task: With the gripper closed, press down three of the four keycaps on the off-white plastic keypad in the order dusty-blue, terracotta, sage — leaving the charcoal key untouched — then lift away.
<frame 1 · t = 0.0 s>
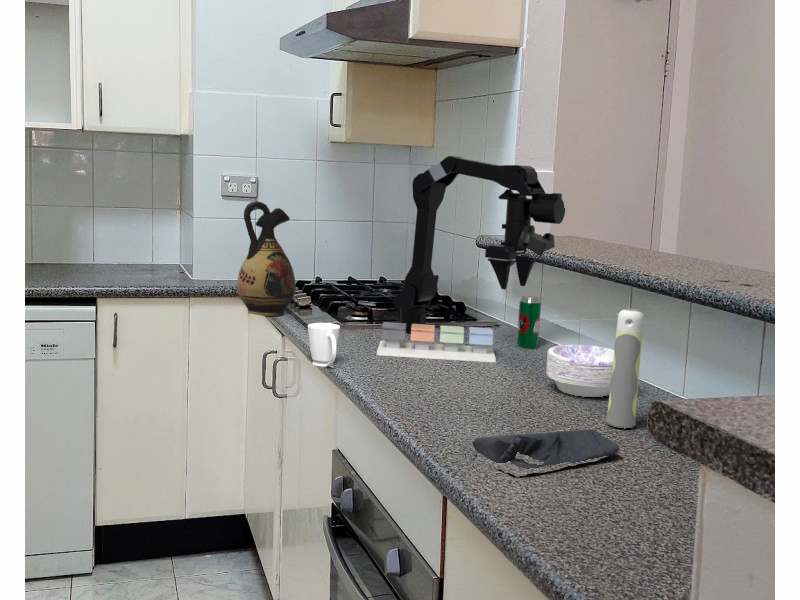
hand: (513, 287, 204), 15 cm above the worktop, fingers open, 9 cm apart
spray bottle: (620, 427, 148), on the worktop
cup: (324, 366, 180), on the worktop
key terracotta: (422, 332, 197), point 4 cm above the worktop, slide at 0.0 cm
keypad: (436, 353, 197), on the worktop
key charcoal: (394, 330, 197), point 4 cm above the worktop, slide at 0.0 cm
key sage: (451, 334, 197), point 5 cm above the worktop, slide at 0.0 cm
ceramic jug: (262, 314, 235), on the worktop
key blue: (480, 336, 196), point 5 cm above the worktop, slide at 0.0 cm
crumpled dark cloth: (542, 459, 131), on the worktop
soda can: (526, 347, 210), on the worktop
paper bowls: (584, 393, 170), on the worktop
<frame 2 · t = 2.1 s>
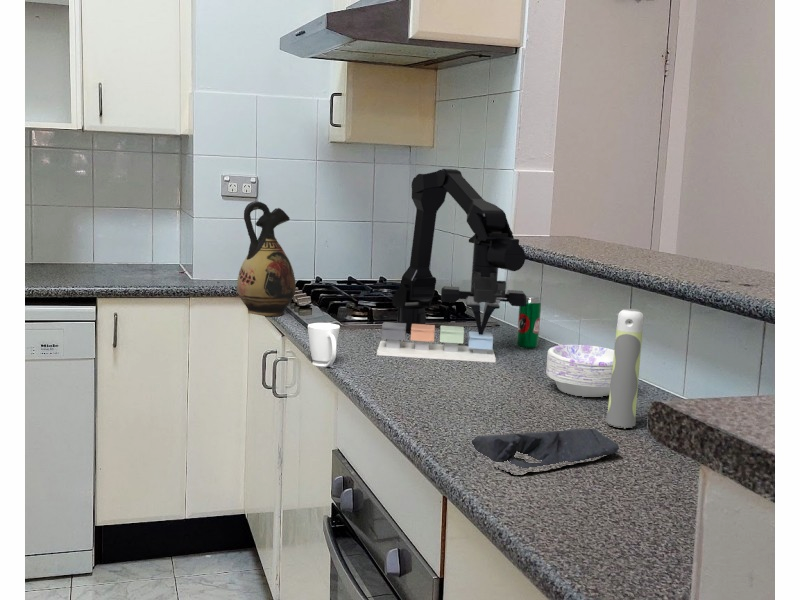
hand: (480, 334, 196), 5 cm above the worktop, fingers closed, pressing on key blue
key blue: (480, 340, 197), point 4 cm above the worktop, slide at 1.0 cm, touching gripper
everything else where it was.
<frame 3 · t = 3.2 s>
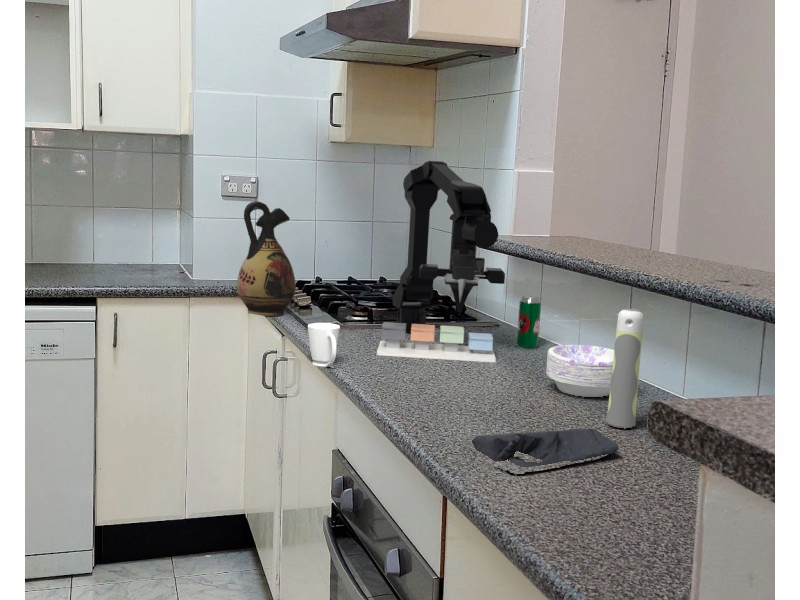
hand: (459, 311, 196), 10 cm above the worktop, fingers closed
key blue: (480, 341, 197), point 3 cm above the worktop, slide at 1.2 cm
everything else where it was.
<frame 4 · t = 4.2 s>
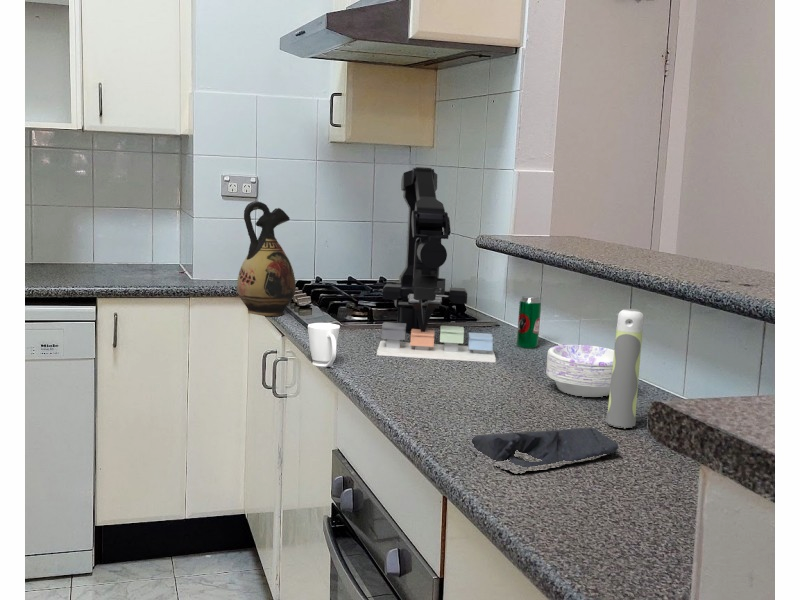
hand: (422, 331, 197), 5 cm above the worktop, fingers closed, pressing on key terracotta
key terracotta: (422, 337, 197), point 3 cm above the worktop, slide at 1.2 cm, touching gripper
everything else where it was.
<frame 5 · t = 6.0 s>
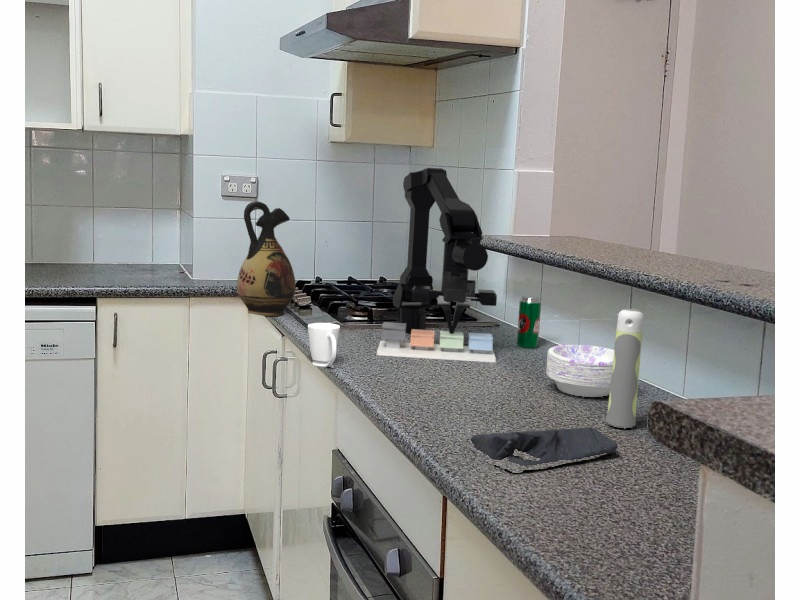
hand: (451, 333, 197), 5 cm above the worktop, fingers closed, pressing on key sage
key terracotta: (422, 338, 197), point 3 cm above the worktop, slide at 1.2 cm
key sage: (451, 339, 197), point 3 cm above the worktop, slide at 1.2 cm, touching gripper
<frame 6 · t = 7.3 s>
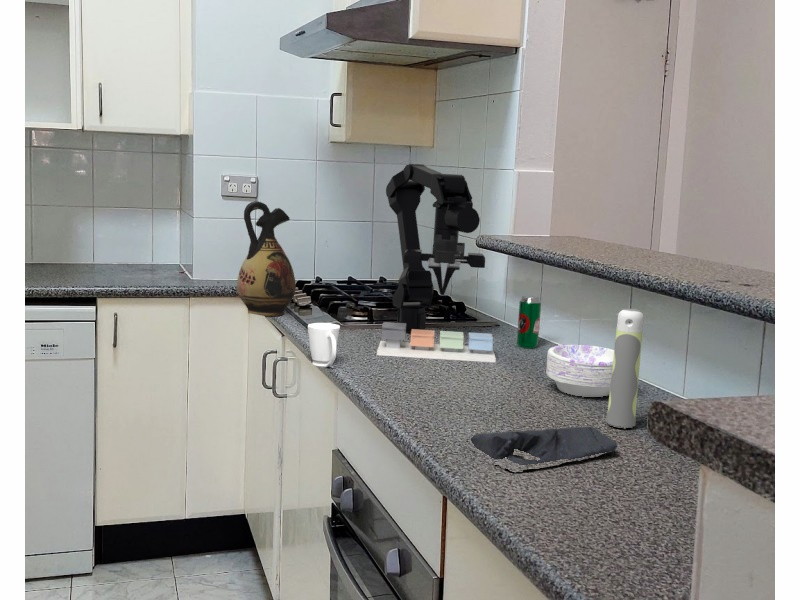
hand: (442, 294, 206), 12 cm above the worktop, fingers closed
key sage: (451, 339, 197), point 3 cm above the worktop, slide at 1.2 cm
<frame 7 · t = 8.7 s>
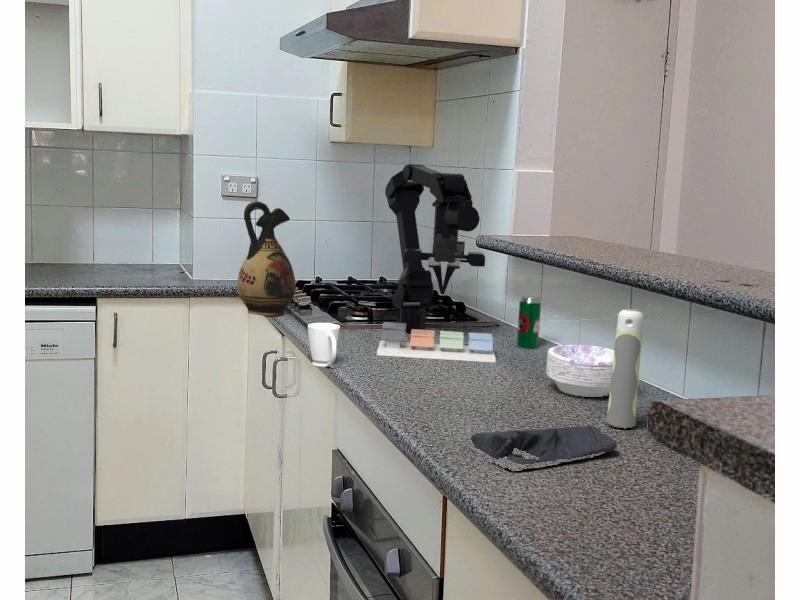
hand: (442, 294, 206), 12 cm above the worktop, fingers closed
at the end: key blue slide at 1.2 cm; key terracotta slide at 1.2 cm; key sage slide at 1.2 cm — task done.
